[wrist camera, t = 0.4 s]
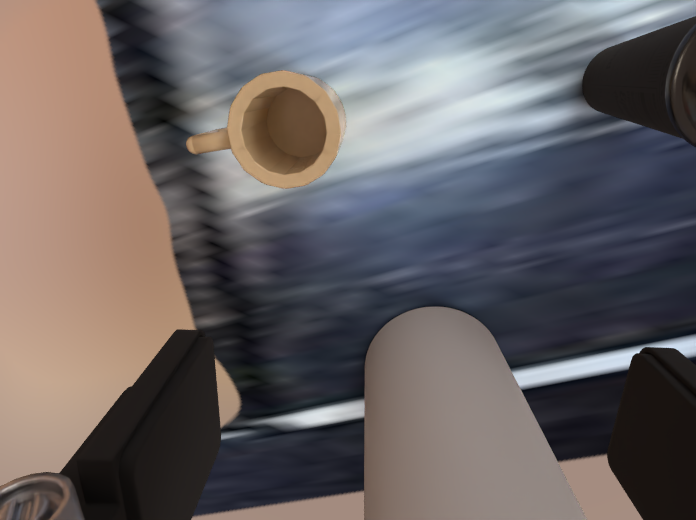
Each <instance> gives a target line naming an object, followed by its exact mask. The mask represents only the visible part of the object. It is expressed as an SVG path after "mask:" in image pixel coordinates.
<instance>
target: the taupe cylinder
mask: <svg viewBox="0 0 696 520" xmlns="http://www.w3.org/2000/svg"><path fill="white" fill-rule="evenodd" d="M364 520H587V518H586V516H585V515H584V512H583V510H582V509H581V507H580V505H579V503H578V501H577V499H576V497H575V495H574V493H573V491H572V489H571V488H570V485H569V483H568V481H567V479H566V477H565V475H564V473H563V471H562V469H561V468H560V466H559V464H558V462H557V460H556V458H555V456H554V454H553V452H552V450H551V448H550V446H549V444H548V442H547V440H546V438H545V436H544V434H543V432H542V430H541V428H540V427H539V425H538V423H537V421H536V419H535V417H534V415H533V413H532V411H531V409H530V407H529V405H528V403H527V401H526V399H525V397H524V395H523V393H522V391H521V389H520V387H519V386H518V384H517V382H516V380H515V378H514V376H513V374H512V372H511V370H510V368H509V366H508V364H507V362H506V360H505V358H504V356H503V354H502V352H501V350H500V348H499V346H498V345H497V343H496V341H495V339H494V337H493V336H492V334H491V333H490V331H489V330H488V329H487V328H486V327H485V326H484V325H483V324H482V323H481V322H479V321H478V320H477V319H475V318H474V317H472V316H470V315H468V314H466V313H464V312H462V311H459V310H456V309H452V308H447V307H423V308H418V309H414V310H411V311H408V312H405V313H403V314H401V315H399V316H397V317H395V318H394V319H392V320H391V321H390V322H388V323H387V324H386V325H385V326H384V327H383V328H382V329H381V330H380V331H379V332H378V333H377V334H376V336H375V337H374V339H373V340H372V342H371V344H370V346H369V349H368V352H367V355H366V360H365V454H364Z"/></svg>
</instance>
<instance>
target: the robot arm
mask: <svg viewBox="0 0 696 520" xmlns="http://www.w3.org/2000/svg"><path fill="white" fill-rule="evenodd" d="M220 442H221V429H220V417H219V406H218V393H217V381H216V369H215V357H214V345H213V340H212V338H211V337H205V333H204V332H203V331H202V330H176V331H175V332H174V333H173V334H172V336H171V337H170V338H169V339H168V341H167V342H166V343H165V345H164V346H163V347H162V349H161V350H160V351H159V353H158V354H157V355H156V356H155V358H154V359H153V360H152V361H151V363H150V364H149V365H148V366H147V368H146V369H145V370H144V372H143V373H142V374H141V375H140V377H139V378H138V379H137V381H136V382H135V383H134V385H133V386H132V387H128V388H127V389H126V390H125V391H124V392H123V393H122V395H121V396H120V397H119V398H118V400H117V401H116V402H115V403H114V405H113V406H112V407H111V408H110V410H109V411H108V412H107V414H106V415H105V416H104V417H103V419H102V420H101V421H100V422H99V424H98V425H97V426H96V428H95V429H94V430H93V431H92V433H91V434H90V435H89V436H88V438H87V439H86V440H85V441H84V443H83V444H82V445H81V447H80V448H79V449H78V450H77V452H76V453H75V454H74V455H73V457H72V458H71V459H70V460H69V462H68V463H67V464H66V466H65V467H64V468H63V469H62V471H61V472H60V473H51V472H43V473H35V474H30V475H27V476H23V477H20V478H17V479H14V480H12V481H10V482H8V483H6V484H4V485H2V486H0V520H191V518H192V516H193V513H194V511H195V508H196V506H197V503H198V501H199V499H200V496H201V494H202V491H203V489H204V486H205V484H206V481H207V479H208V476H209V474H210V471H211V469H212V466H213V464H214V461H215V459H216V456H217V454H218V451H219V447H220ZM607 458H608V463H609V466H610V468H611V470H612V472H613V473H614V475H615V476H616V478H617V479H618V481H619V483H620V484H621V486H622V487H623V489H624V490H625V492H626V493H627V495H628V497H629V498H630V500H631V501H632V503H633V504H634V506H635V508H636V509H637V511H638V512H639V514H640V515H641V517H642V518H643V520H696V365H694V364H693V363H692V362H691V361H690V360H688V359H687V358H686V357H685V356H684V355H683V354H681V353H680V352H679V351H678V350H676V349H674V348H654V347H645V348H643V349H642V350H641V351H640V353H637V354H635V355H634V356H633V357H632V360H631V364H630V367H629V371H628V375H627V379H626V383H625V386H624V390H623V394H622V398H621V402H620V405H619V409H618V413H617V417H616V421H615V424H614V428H613V432H612V436H611V440H610V443H609V447H608V452H607Z"/></svg>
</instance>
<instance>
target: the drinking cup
mask: <svg viewBox="0 0 696 520" xmlns="http://www.w3.org/2000/svg"><path fill="white" fill-rule="evenodd" d="M582 87H583V94H584V97H585V99H586V101H587V102H588V104H589V105H590V106H591V107H592V108H594V109H595V110H597V111H599V112H602V113H605V114H608V115H611V116H615V117H618V118H621V119H624V120H627V121H630V122H633V123H636V124H639V125H642V126H645V127H649V128H652V129H655V130H658V131H661V132H664V133H667V134H670V135H673V136H676V137H680V138H683V139H684V140H686V141H687V142H688V143H689V144H691V145H692V146H694V147H696V16H695V17H692V18H689V19H687V20H684V21H681V22H678V23H676V24H673V25H670V26H667V27H665V28H662V29H659V30H656V31H653V32H651V33H648V34H645V35H642V36H640V37H637V38H634V39H631V40H629V41H626V42H623V43H620V44H618V45H615V46H612V47H609V48H607V49H605V50H603V51H602V52H600V53H599V54H598V55H596V56H595V57H594V58H593V60H592V61H591V62H590V64H589V65H588V67H587V69H586V71H585V74H584V77H583V84H582Z"/></svg>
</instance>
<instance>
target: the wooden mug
mask: <svg viewBox="0 0 696 520" xmlns="http://www.w3.org/2000/svg"><path fill="white" fill-rule="evenodd" d="M345 129H346V116H345V111H344V107H343V104H342V102H341V100H340V98H339V97H338V95H337V94H336V92H335V91H334V90H333V89H332V88H331V87H330V86H329V85H328V84H326V83H325V82H323V81H322V80H320V79H319V78H316V77H312V76H308V75H304V74H300V73H295V72H290V71H285V70H281V71H275V72H269V73H264V74H261V75H259V76H257V77H256V78H254V79H253V80H251V81H250V82H248V83H247V84H246V85H244V86H243V87H242V88H241V89H240V91H239V93H238V94H237V96H236V98H235V99H234V101H233V103H232V104H231V107H230V111H229V118H228V125H227V128H221V129H215V130H212V131H208V132H205V133H201V134H197V135H194V136H191V137H189V138H188V140H187V142H186V146H187V149H188V150H189V151H190V152H191V153H193V154H201V153H207V152H213V151H219V150H225V149H232V153H233V154H234V156H235V157H236V159H237V160H238V162H239V163H240V165H241V166H242V168H243V169H244V170H245V171H246V172H247V173H249V174H250V175H251V176H253V177H254V178H256V179H257V180H259V181H260V182H261V183H264V184H266V185H270V186H274V187H279V188H283V189H284V188H285V189H287V188H294V187H300V186H305V185H307V184H309V183H311V182H312V181H314V180H316V179H317V178H319V177H320V176H322V175H323V174H324V173H325V172H326V171H327V169H328V168H329V166H330V165H331V164H332V162H333V161H334V159H335V158H336V156H337V154H338V151H339V149H340V147H341V144H342V142H343V138H344V134H345Z"/></svg>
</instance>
